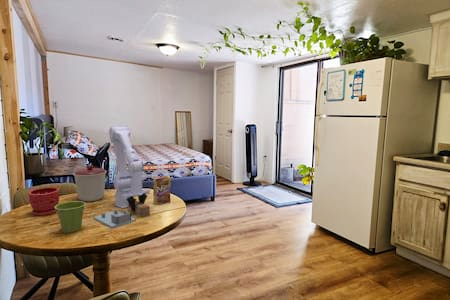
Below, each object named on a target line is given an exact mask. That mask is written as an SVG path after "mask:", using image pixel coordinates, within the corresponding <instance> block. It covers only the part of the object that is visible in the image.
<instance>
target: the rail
mask: <svg viewBox="0 0 450 300" xmlns="http://www.w3.org/2000/svg"><path fill="white" fill-rule="evenodd" d="M127 208H128V212H130V213H131V214H134V215H136V216H138V217H140V218H142V219H143V218H145V217H150V213H151V211H150V205H147V204H145V203H144V204H143V203H141V202H139V200H136V201H135V211H132V210H131V207H130V204H129V202H128V207H127Z"/></svg>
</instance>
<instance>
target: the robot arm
mask: <svg viewBox="0 0 450 300" xmlns="http://www.w3.org/2000/svg"><path fill="white" fill-rule="evenodd" d="M108 135H109V141H110V143H111V144H113V148H114V154H115V160H116V166H117V174H115V176H114V177H113V186H114V187H113V188H114V189H115V193H114V194H115V195H114V199H115V203H114V204H113V205H114V206H115V207H118V208H121V209H125V208H128V202H129V204H130V207H131V210H132V211H135V201H137V199H136V197H138V202H141V203H143V204H145V202H146V200H147V198H148V195H149V194H151V191H150V189H148V188H147V189H143V171H144V170H145V166H144V162H143V160H141V158H139V156H138V153H137V151H136V149H135V148H133V146H132V143H131V139H130V137H131V129H130V127H129V126H110V127H109V130H108Z"/></svg>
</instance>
